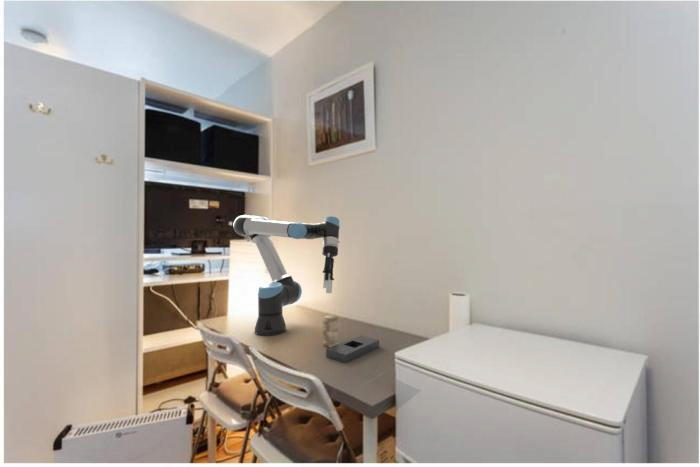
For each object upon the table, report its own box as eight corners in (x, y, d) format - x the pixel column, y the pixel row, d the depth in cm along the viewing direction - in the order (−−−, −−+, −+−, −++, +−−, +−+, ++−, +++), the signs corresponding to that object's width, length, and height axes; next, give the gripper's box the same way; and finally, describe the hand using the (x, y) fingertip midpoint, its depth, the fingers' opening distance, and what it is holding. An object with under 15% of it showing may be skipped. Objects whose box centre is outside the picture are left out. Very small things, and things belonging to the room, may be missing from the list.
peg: (323, 344, 136) (323, 317, 137) (330, 342, 140) (330, 315, 140) (330, 347, 134) (330, 318, 134) (337, 344, 137) (337, 316, 137)
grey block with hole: (326, 356, 123) (326, 348, 123) (360, 342, 140) (360, 335, 140) (345, 363, 117) (345, 354, 117) (379, 347, 134) (379, 339, 134)
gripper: (336, 239, 143) (333, 285, 135) (339, 254, 166) (337, 295, 159) (320, 238, 143) (316, 285, 136) (325, 254, 166) (322, 294, 159)
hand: (327, 290), depth 147 cm, fingers open, 13 cm apart
